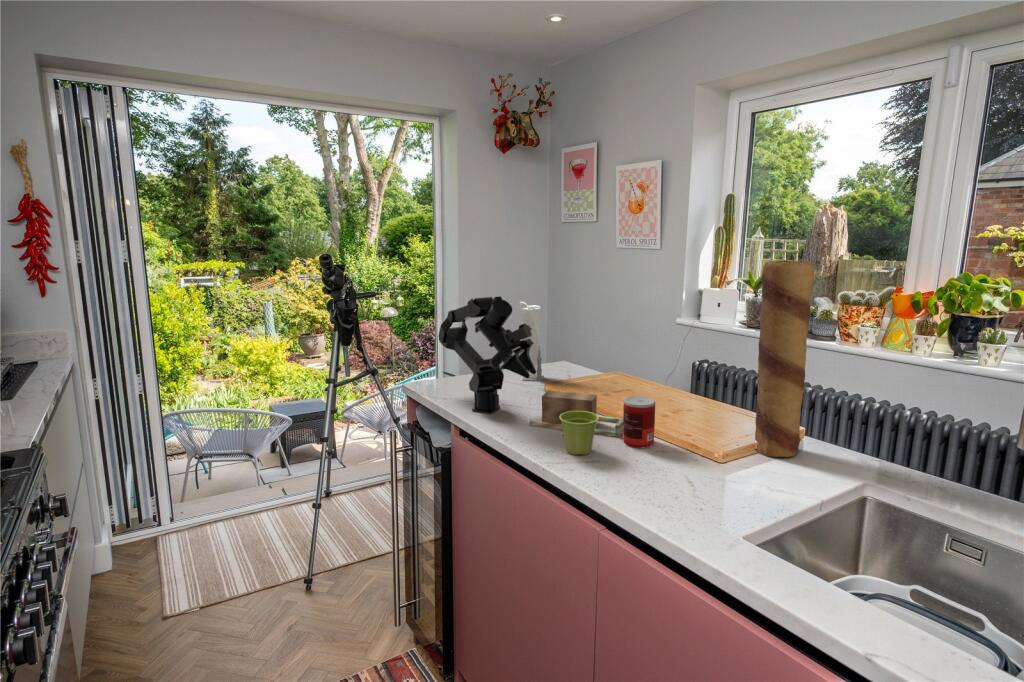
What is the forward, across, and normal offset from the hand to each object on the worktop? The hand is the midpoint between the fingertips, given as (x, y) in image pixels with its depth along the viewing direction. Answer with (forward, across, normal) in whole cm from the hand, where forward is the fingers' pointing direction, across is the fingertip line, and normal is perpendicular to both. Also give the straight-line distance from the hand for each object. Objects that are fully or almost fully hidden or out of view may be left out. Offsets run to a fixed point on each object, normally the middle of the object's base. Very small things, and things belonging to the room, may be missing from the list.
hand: (532, 375), depth 162 cm
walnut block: (+17, 0, +1) cm, 17 cm away
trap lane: (+19, 0, -1) cm, 19 cm away
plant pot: (+23, -19, -5) cm, 30 cm away
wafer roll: (+54, -1, -36) cm, 64 cm away
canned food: (+32, -8, -14) cm, 35 cm away
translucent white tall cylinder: (-4, +42, +22) cm, 47 cm away
